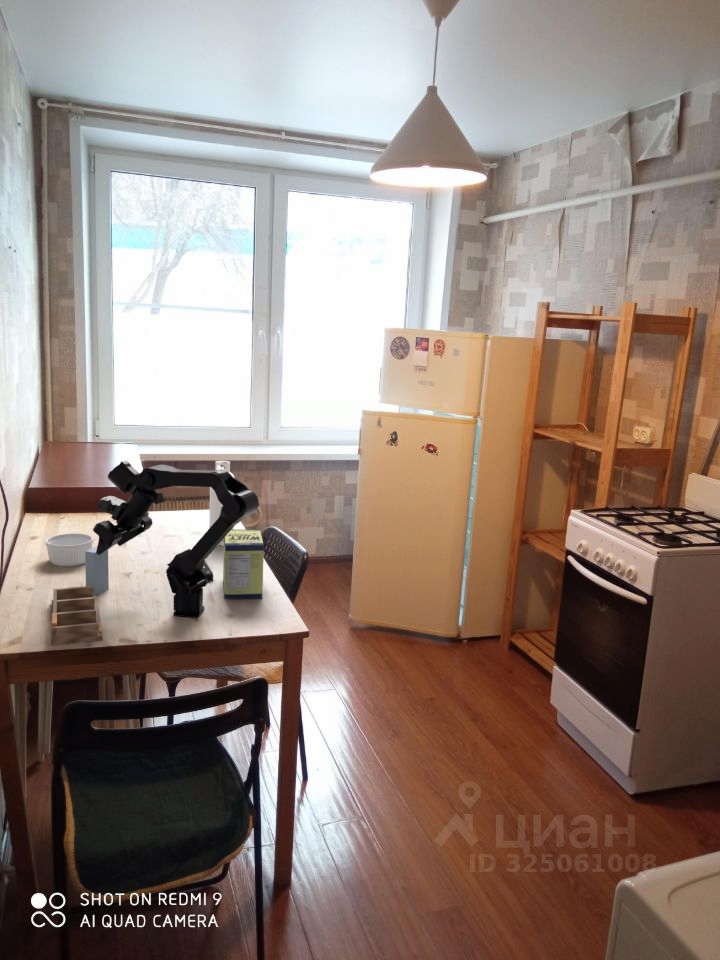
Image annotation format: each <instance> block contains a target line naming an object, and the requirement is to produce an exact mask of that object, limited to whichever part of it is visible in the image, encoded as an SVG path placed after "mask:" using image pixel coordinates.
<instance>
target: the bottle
mask: <svg viewBox="0 0 720 960" xmlns="http://www.w3.org/2000/svg"><path fill="white" fill-rule="evenodd" d="M214 465H215V468H214V470H226V471H227V472H229V473H230V474H231V476H232V477H233V478H235V475H234V473H232V472H231V461H229V460H215V464H214ZM235 479H236V478H235ZM228 491H229V490H228ZM229 492H230V491H229ZM230 493H231V494H232V495H234V493H232V492H230ZM222 506H223V505H222V504H221V503H220V502H219V500H218V498H217V496H216V493H215V491H214V490H213V489H212V488H211V487H209V521H208V523H209V524H208V529H209V528H210V527H211V526H212V525H213V524H214V522H215V521H216V520H217V519H218V518H219V516H220V512H221V508H222ZM234 528H235V526H234V527H233V528H232V529H231V530H235V529H234ZM218 545H224V539H223V540H222V541H221V542H220V543H219V544H218Z"/></svg>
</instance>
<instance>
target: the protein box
mask: <svg viewBox="0 0 720 960" xmlns="http://www.w3.org/2000/svg"><path fill="white" fill-rule="evenodd" d="M223 541H224V546H223V562H222V563H223V569H222V570H223V571H222V574H223V580H222V581H223V597H224V600H244V599H245V600H246V599H247V600H248V599H250V600H251V599H263V585H264V553H265V550H264V549H265V545H264V541H263V536H262V533H261V529H234V530H231V531H230V532H229V533H228V534H227V535H226V536H225V537H224V540H223Z"/></svg>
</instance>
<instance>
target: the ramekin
mask: <svg viewBox="0 0 720 960" xmlns="http://www.w3.org/2000/svg"><path fill="white" fill-rule="evenodd" d="M93 538H94V537H93V536H91V535H90V534H87V533H80V532H79V533H78V532H74V533H73V532H69V533H61V534H55V535H52V536H50V537H48V538H47V539H46V540H45V546H46V549H47V556H48V561H50V563H51V564H53V565H54V566H56V567H75V566H81V565H85V551H87V550H89V549H92V548H93V543H94V539H93Z"/></svg>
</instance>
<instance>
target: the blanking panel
mask: <svg viewBox="0 0 720 960" xmlns="http://www.w3.org/2000/svg"><path fill="white" fill-rule="evenodd" d="M96 551H97V546H95V547H94V546H93V547H92V549H89V550H87V551H85V563H84V565H85V586H93V597H94V596H98V595H100V594H102V593H104V592H106V591H107V590H109V584H110V583H109V581H110V579H109V578H110V577H109V549H108V550H107V551H105V552H104V553H102V554H101V555H98V554H97V553H96Z"/></svg>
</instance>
